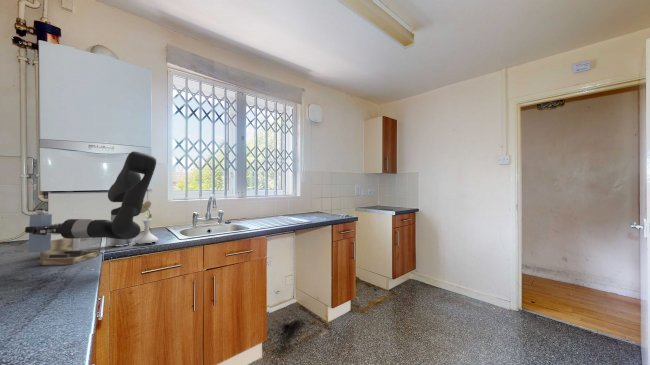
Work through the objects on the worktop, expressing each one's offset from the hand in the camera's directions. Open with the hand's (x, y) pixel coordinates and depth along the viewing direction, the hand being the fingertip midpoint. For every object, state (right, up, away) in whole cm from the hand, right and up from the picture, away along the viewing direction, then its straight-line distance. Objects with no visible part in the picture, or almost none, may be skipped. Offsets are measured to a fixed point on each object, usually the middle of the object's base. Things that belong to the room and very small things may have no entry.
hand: (32, 228), depth 98 cm
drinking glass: (-11, -17, +26) cm, 33 cm away
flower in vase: (+11, -18, +48) cm, 52 cm away
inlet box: (+2, -16, +13) cm, 20 cm away
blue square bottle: (+3, -9, 0) cm, 9 cm away
